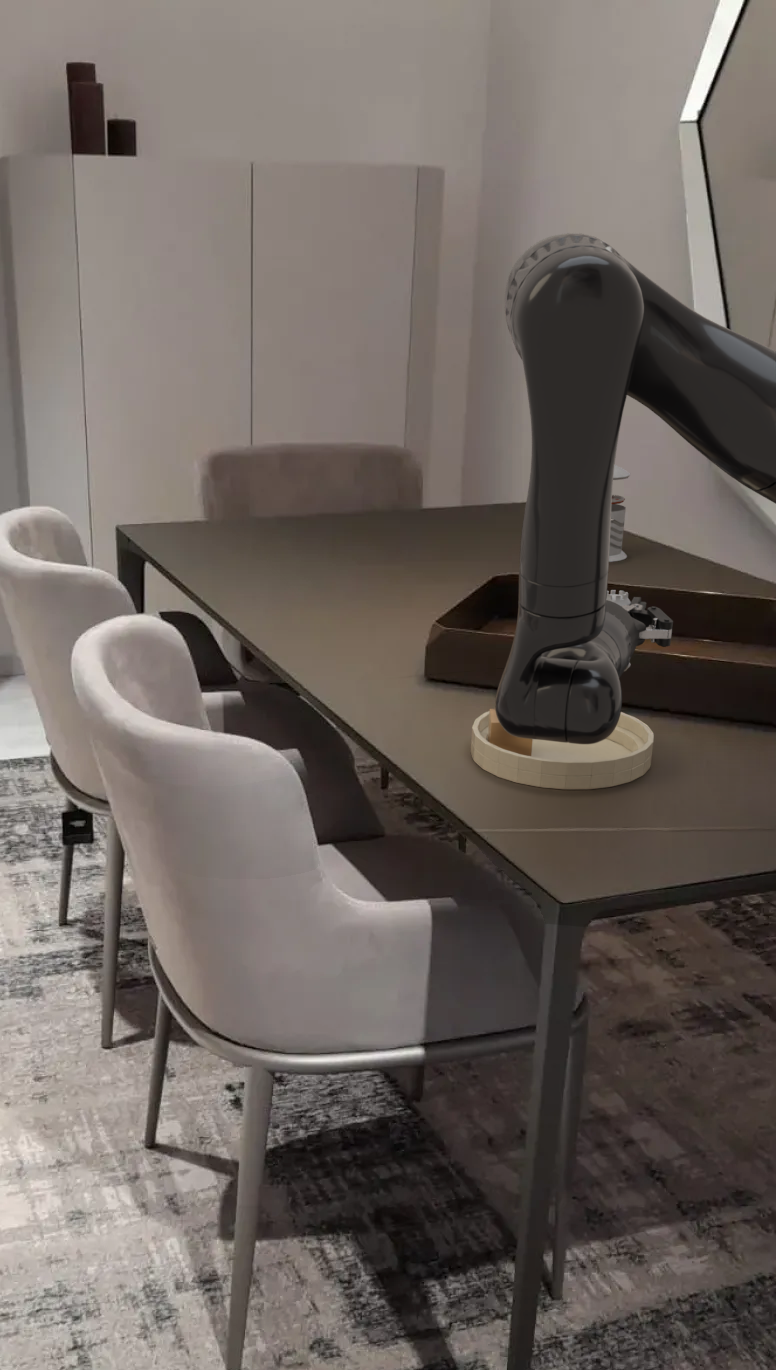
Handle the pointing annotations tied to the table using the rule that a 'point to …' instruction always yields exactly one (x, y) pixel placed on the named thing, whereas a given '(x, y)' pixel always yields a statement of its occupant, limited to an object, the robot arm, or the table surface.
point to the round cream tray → (569, 758)
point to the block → (507, 737)
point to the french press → (617, 520)
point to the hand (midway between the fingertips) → (617, 605)
